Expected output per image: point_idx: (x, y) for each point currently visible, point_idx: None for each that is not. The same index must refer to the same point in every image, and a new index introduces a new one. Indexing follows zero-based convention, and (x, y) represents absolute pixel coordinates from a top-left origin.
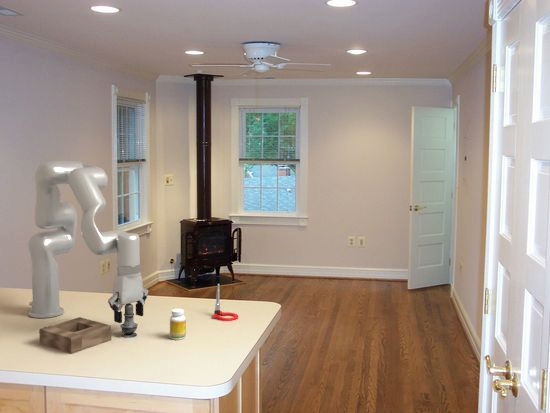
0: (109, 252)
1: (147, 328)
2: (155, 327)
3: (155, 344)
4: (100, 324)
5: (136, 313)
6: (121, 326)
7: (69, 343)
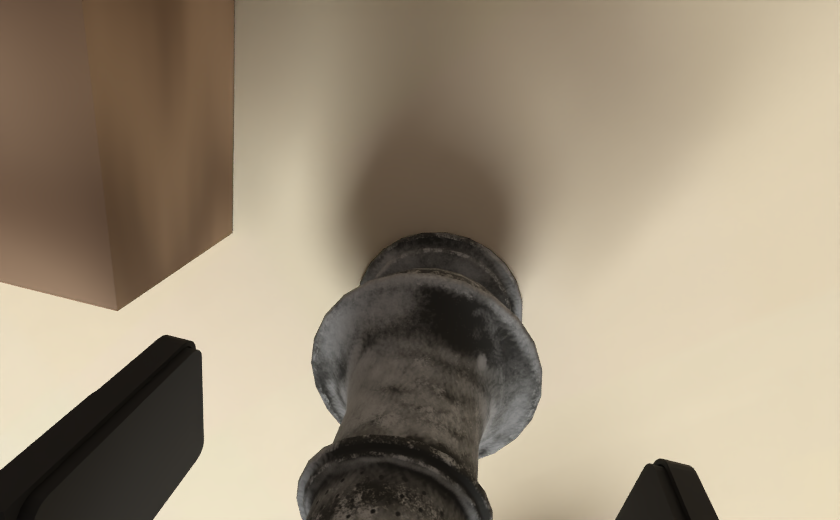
0: None
1: (728, 365)
2: (786, 420)
3: None
4: (35, 129)
5: (650, 494)
6: (324, 328)
7: None
